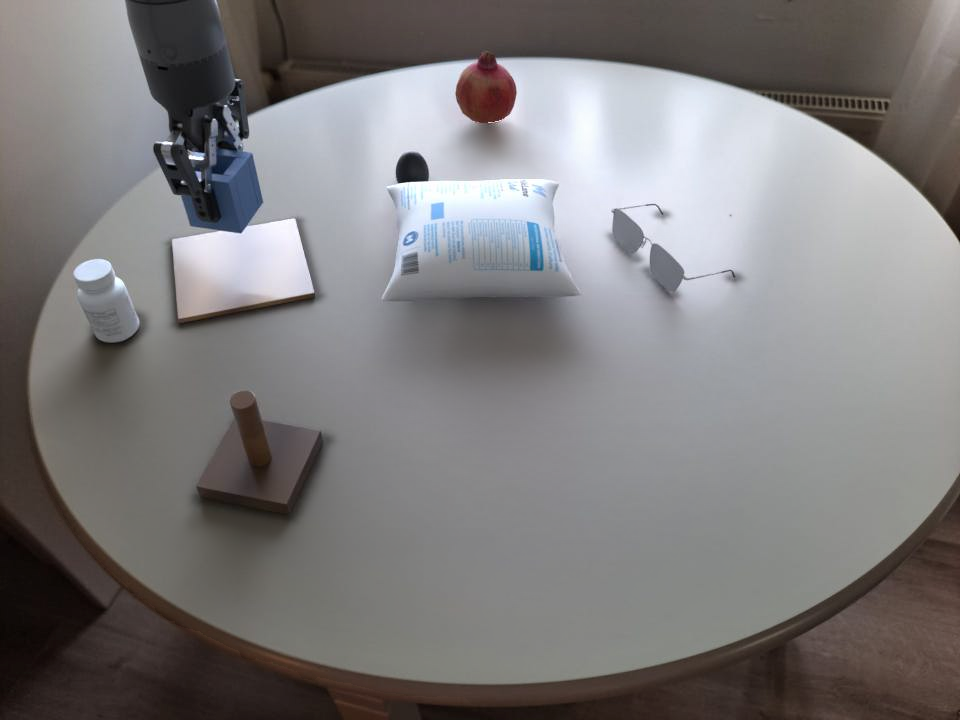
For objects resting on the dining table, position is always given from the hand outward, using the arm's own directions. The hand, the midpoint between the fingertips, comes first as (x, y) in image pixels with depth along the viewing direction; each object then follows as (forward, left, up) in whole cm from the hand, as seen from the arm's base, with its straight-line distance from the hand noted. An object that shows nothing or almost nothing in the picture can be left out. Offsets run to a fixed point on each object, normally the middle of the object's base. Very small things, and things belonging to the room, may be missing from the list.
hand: (223, 201), depth 82 cm
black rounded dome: (+22, +10, -9) cm, 26 cm away
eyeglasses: (+46, -12, -9) cm, 49 cm away
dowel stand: (-1, -28, -9) cm, 29 cm away
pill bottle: (-13, -6, -9) cm, 17 cm away
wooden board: (0, 0, -9) cm, 9 cm away
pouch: (+25, -7, -9) cm, 27 cm away
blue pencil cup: (0, 0, -1) cm, 1 cm away
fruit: (+35, +22, -9) cm, 43 cm away
